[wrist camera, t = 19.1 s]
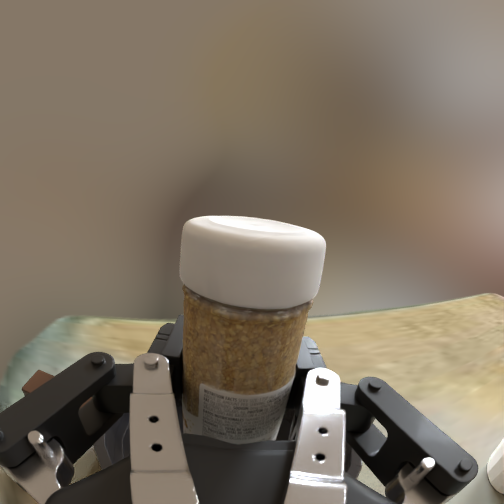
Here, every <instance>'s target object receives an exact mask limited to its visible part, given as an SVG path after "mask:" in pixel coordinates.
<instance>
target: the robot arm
mask: <svg viewBox="0 0 504 504" xmlns="http://www.w3.org/2000/svg"><path fill="white" fill-rule="evenodd" d="M183 326H184V315H179V316H178V318H177V321H176V323H175V324H173V323H167V324H165V325H164V326H162V327H161V328H160V330H159V332H158V334H157V335H156V337H155V339H154V341H153V343H152V345H151V347H150V349H149V350H148V352H147V353H145V354H142V355H139V356H138V357H137V358H136V359H135V360H134V363H133V364H115V361H114V358H113V357H112V356H111V355H109V354H107V353H103V352H94V353H90V354H88V355H86V356H85V357H83V358H81V359H80V360H78V361H77V362H76V363H74V364H73V365H71V366H70V367H68V368H67V369H65V370H64V371H62V372H61V373H59V374H58V375H56V376H55V377H53V378H52V379H50V380H49V381H47V382H46V383H44V384H43V385H41V386H40V387H38V388H37V389H35V390H34V391H32V392H31V393H29V394H28V395H26V396H25V397H23V398H22V399H20V400H19V401H17V402H16V403H14V404H13V405H11V406H10V407H9V408H7V409H6V410H4V411H3V412H1V413H0V467H1V468H2V469H3V470H4V471H5V472H6V473H7V474H8V475H9V477H10V478H11V479H12V480H14V481H15V482H16V483H17V484H18V485H19V486H20V487H21V488H22V489H23V490H25V491H26V492H27V493H29V494H30V495H31V496H32V497H33V498H34V499H35V500H36V501H37V502H38V503H39V504H445V503H447V502H448V501H449V500H450V499H452V498H453V497H454V496H455V495H456V494H457V493H459V492H460V491H461V490H462V489H463V488H464V487H465V486H466V485H467V484H469V483H470V482H471V481H472V480H473V479H474V478H475V477H476V475H477V473H478V464H477V462H476V460H475V459H474V458H473V457H472V456H471V455H469V454H468V453H467V452H466V451H465V450H464V449H462V448H461V447H460V446H459V445H458V444H457V443H455V442H454V441H453V440H452V439H451V438H449V437H448V436H447V435H446V434H445V433H444V432H442V431H441V430H440V429H439V428H438V427H437V426H435V425H434V424H433V423H432V422H431V421H430V420H428V419H427V418H426V417H425V416H424V415H423V414H421V413H420V412H419V411H418V410H417V409H416V408H415V407H413V406H412V405H411V404H410V403H409V402H408V401H406V400H405V399H404V398H403V397H402V396H401V395H400V394H398V393H397V392H396V391H395V390H394V389H393V388H391V387H390V386H389V385H388V384H387V383H386V382H384V381H383V380H381V379H379V378H375V377H365V378H363V379H361V380H360V382H359V384H358V385H352V384H346V383H342V382H340V378H339V376H338V375H337V374H336V373H334V372H333V371H331V370H328V369H327V368H326V365H325V363H324V361H323V358H322V356H321V355H320V352H319V350H318V347H317V345H316V343H315V342H314V341H313V340H312V339H311V338H310V337H303V338H302V342H301V346H300V351H299V356H298V360H297V363H296V373H295V377H294V381H293V385H292V388H291V392H290V395H289V399H288V402H287V406H286V409H294V410H295V415H294V417H293V421H292V425H291V430H290V434H289V438H288V440H266V441H260V442H254V443H248V444H240V445H236V444H232V443H228V442H225V441H221V440H218V439H214V438H211V437H208V436H201V435H194V434H187V433H181V431H180V425H179V420H178V415H177V409H176V403H175V399H178V400H181V396H182V371H183V360H182V359H183ZM91 397H92V399H91V400H90V401H88V402H87V403H86V404H85V405H84V406H82V407H81V405H82V404H83V403H85V402H86V401H87V400H88V399H89V398H91ZM80 407H81V408H80ZM124 413H130V455H129V456H128V457H126V458H124V459H122V460H120V461H118V462H116V463H115V464H113V465H111V466H109V467H107V468H105V469H103V470H101V471H99V472H97V473H95V474H93V475H91V476H88V477H86V478H84V479H82V480H80V481H78V482H75V483H73V484H71V485H69V484H70V483H71V481H72V477H73V475H74V467H73V464H74V463H75V462H76V461H77V460H78V459H79V458H80V457H81V456H82V455H83V454H84V453H85V452H86V451H87V450H88V449H89V448H90V447H91V446H92V445H93V444H94V443H95V442H96V441H97V440H98V439H99V438H100V437H101V436H103V435H104V434H105V433H106V432H107V431H108V430H109V429H110V428H111V427H112V426H113V425H114V424H115V423H116V422H117V421H118V420H119V419H120V418H121V417H122V415H123V414H124ZM375 418H376V419H377V420H378V421H379V422H380V423H381V425H382V426H383V427H384V428H385V429H386V430H387V433H388V437H387V438H386V437H385V436H384V435H383V434H382V433H381V432H380V431H379V430H378V429H377V428H376V426H375V425H374V424H373V422H374V420H375ZM346 441H347V442H348V444H349V445H350V446H351V447H352V449H353V450H354V451H355V452H356V453H357V455H358V456H359V457H360V458H361V459H362V461H363V462H364V463H365V464H366V465H367V466H368V468H369V469H370V470H371V471H372V472H373V473H374V475H375V476H376V477H377V478H378V479H379V480H380V482H381V483H382V484H383V485H384V486H385V487H386V488H385V494H386V497H384V496H383V495H381V494H379V493H378V492H376V491H374V490H373V489H371V488H369V487H368V486H366V485H364V484H363V483H361V482H360V481H358V480H357V479H355V478H354V477H352V476H351V475H349V474H348V473H346V472H345V442H346Z"/></svg>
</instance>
